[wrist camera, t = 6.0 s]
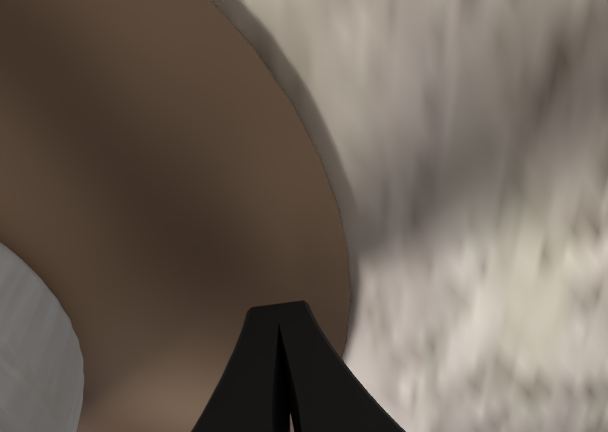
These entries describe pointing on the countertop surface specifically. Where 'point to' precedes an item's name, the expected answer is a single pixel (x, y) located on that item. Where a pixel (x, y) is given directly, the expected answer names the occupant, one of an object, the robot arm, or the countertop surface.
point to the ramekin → (36, 354)
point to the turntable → (159, 196)
